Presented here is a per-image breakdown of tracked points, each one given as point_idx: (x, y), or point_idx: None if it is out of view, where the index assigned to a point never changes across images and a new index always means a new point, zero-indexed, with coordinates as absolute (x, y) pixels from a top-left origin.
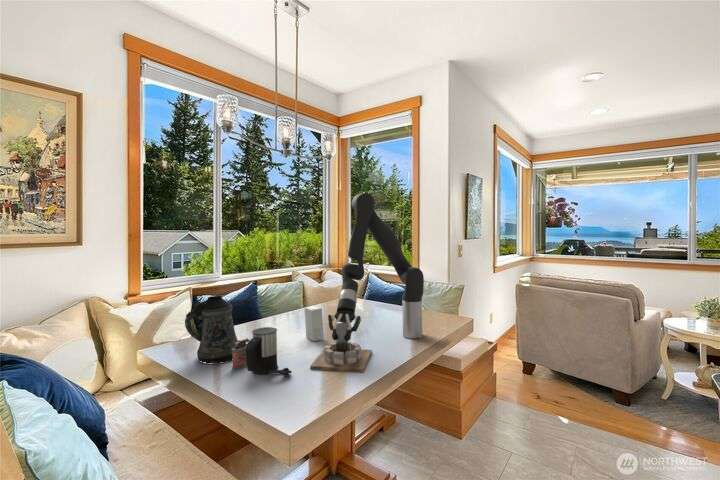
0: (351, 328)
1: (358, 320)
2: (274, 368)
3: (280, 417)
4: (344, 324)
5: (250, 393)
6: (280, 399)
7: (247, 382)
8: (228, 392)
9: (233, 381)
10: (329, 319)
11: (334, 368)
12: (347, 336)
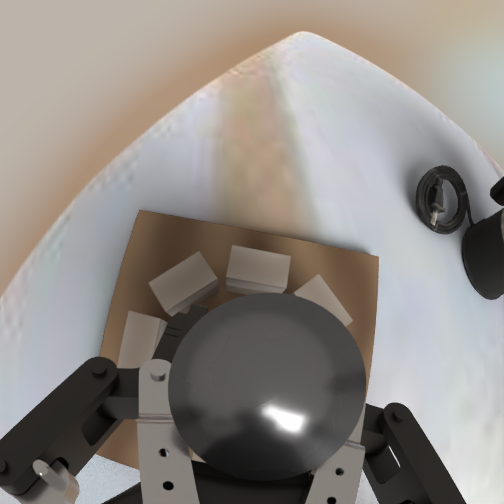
0: (138, 384)
1: (22, 428)
2: (469, 240)
3: (339, 55)
4: (218, 307)
5: (441, 135)
6: (372, 97)
7: (477, 187)
8: (475, 151)
9: None
10: (442, 480)
11: (269, 236)
12: (193, 313)
